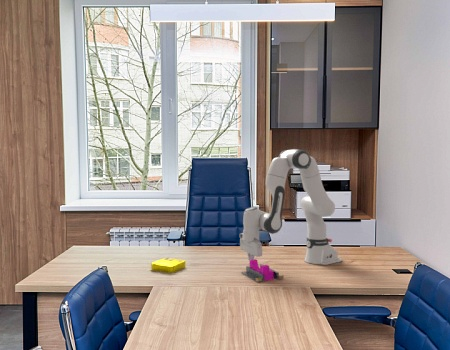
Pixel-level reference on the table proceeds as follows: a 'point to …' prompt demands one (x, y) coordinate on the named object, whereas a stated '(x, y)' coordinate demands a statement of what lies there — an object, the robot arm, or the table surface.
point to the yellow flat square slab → (168, 265)
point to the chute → (259, 274)
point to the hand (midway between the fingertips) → (251, 260)
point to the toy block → (262, 269)
